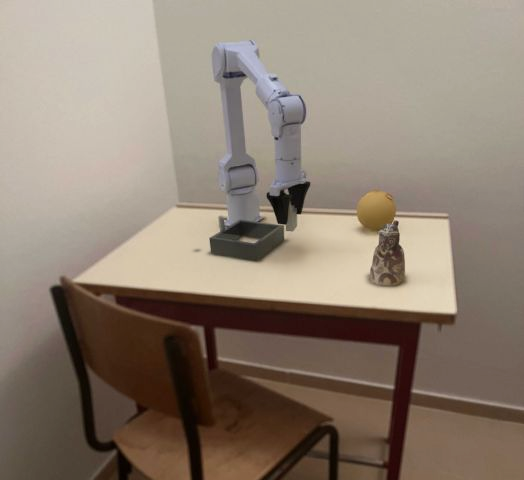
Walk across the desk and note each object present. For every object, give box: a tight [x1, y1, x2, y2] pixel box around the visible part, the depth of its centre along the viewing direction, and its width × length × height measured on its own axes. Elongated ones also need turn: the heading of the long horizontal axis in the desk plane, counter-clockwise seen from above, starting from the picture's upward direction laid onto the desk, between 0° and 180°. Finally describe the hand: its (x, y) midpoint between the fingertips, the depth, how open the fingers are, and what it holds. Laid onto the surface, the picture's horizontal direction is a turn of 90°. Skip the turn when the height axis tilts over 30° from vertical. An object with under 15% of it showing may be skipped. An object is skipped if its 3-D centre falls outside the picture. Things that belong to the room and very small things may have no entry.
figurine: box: [369, 219, 406, 287], centre depth 106 cm, size 7×7×12 cm
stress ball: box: [356, 189, 397, 231], centre depth 132 cm, size 10×10×10 cm
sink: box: [208, 215, 285, 262], centre depth 127 cm, size 14×15×7 cm
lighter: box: [285, 202, 298, 232], centre depth 119 cm, size 7×2×8 cm, turn 162°
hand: (289, 218), depth 119 cm, fingers closed on lighter, 7 cm apart
